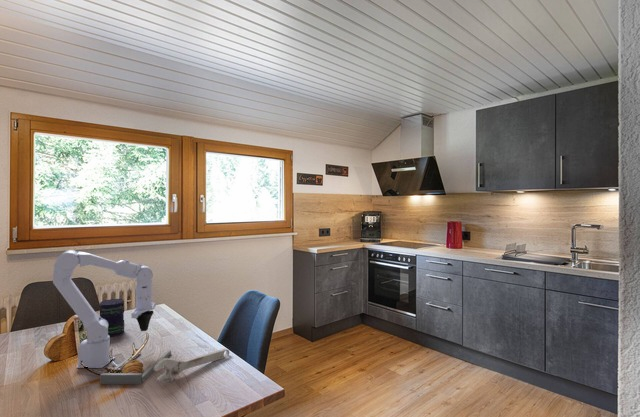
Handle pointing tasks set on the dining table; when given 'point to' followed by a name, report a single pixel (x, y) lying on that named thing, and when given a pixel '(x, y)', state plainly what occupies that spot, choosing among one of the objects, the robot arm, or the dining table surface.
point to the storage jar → (113, 315)
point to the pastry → (133, 367)
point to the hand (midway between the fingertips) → (144, 330)
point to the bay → (129, 374)
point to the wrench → (186, 364)
